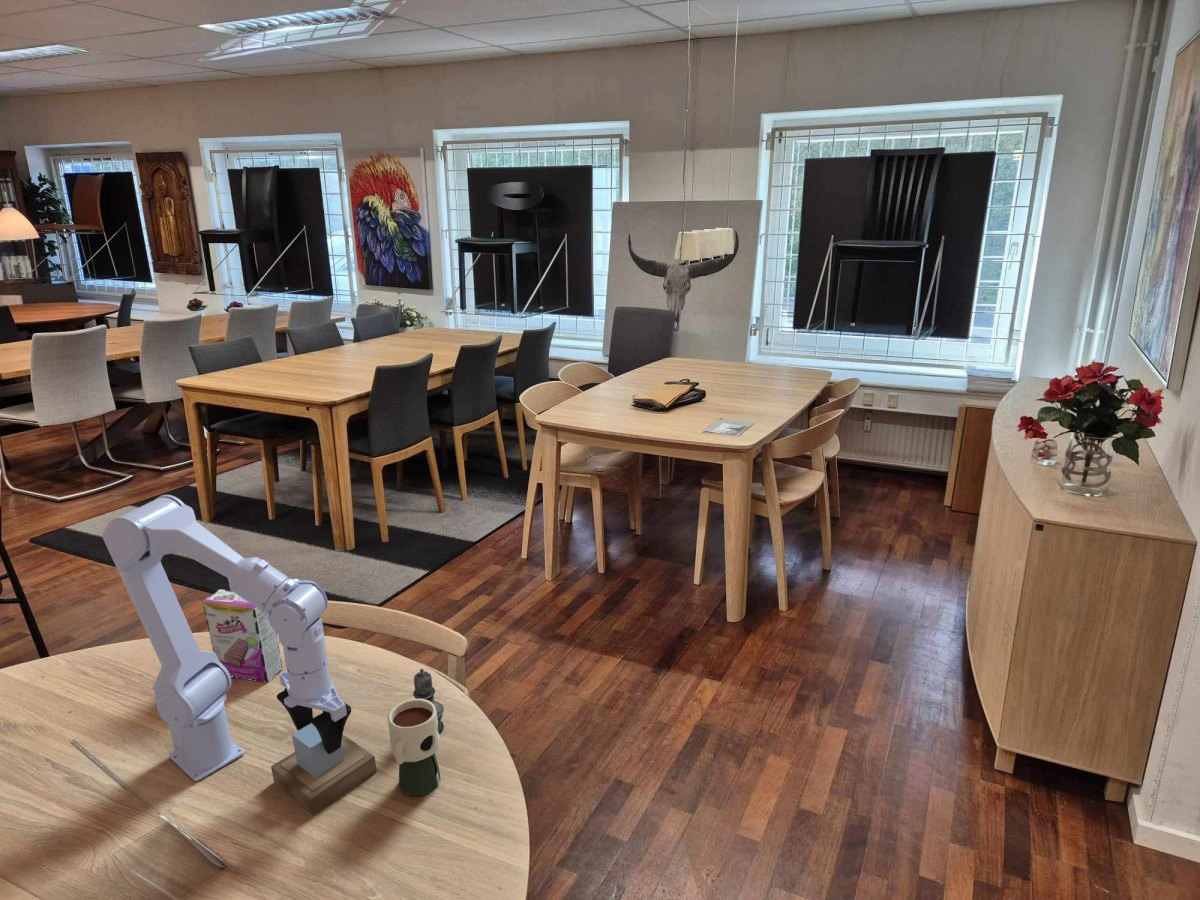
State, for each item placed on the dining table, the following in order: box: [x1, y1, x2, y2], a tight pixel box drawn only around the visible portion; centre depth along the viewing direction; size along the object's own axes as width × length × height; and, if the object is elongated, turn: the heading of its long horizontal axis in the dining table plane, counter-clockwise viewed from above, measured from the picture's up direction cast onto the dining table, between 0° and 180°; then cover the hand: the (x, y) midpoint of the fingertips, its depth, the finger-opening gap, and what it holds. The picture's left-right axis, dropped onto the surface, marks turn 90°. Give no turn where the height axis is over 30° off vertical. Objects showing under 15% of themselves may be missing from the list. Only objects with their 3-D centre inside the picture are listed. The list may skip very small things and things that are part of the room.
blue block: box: [291, 723, 344, 778], centre depth 115 cm, size 5×5×6 cm
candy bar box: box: [202, 589, 283, 683], centre depth 141 cm, size 11×5×16 cm, turn 77°
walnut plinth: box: [270, 734, 378, 816], centre depth 117 cm, size 11×11×3 cm
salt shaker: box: [412, 668, 445, 735], centre depth 126 cm, size 6×6×12 cm
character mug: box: [387, 698, 441, 796], centre depth 114 cm, size 11×7×13 cm, turn 168°
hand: (319, 739), depth 115 cm, fingers open, 7 cm apart
